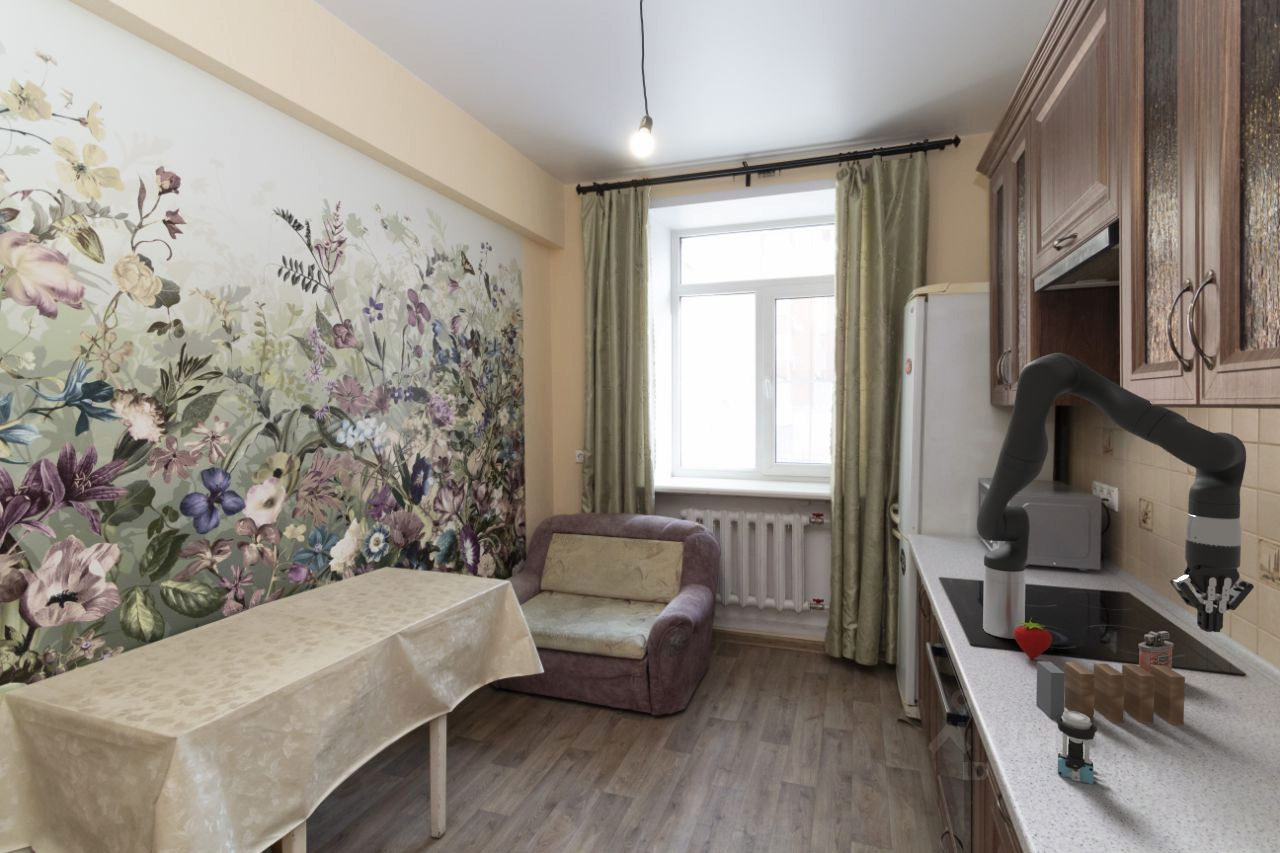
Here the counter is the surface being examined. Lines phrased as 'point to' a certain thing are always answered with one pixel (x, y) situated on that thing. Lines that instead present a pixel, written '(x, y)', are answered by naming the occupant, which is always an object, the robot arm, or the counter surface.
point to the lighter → (1155, 651)
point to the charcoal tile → (1050, 689)
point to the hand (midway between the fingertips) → (1209, 630)
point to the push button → (1076, 747)
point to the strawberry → (1032, 639)
